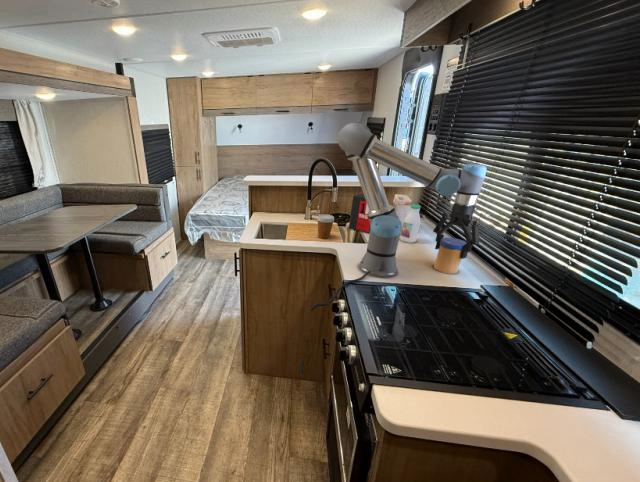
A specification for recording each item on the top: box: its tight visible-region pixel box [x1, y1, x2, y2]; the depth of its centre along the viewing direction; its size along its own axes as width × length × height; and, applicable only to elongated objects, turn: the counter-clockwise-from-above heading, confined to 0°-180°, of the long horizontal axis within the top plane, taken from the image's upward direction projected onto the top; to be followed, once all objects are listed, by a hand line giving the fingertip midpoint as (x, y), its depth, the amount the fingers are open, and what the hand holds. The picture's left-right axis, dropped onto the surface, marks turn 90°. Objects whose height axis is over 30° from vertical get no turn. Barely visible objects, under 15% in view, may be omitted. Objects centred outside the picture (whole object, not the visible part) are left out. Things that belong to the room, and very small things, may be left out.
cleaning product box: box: [348, 193, 389, 235], centre depth 181 cm, size 16×9×20 cm, turn 44°
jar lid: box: [440, 237, 467, 250], centre depth 132 cm, size 10×10×2 cm
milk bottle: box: [399, 203, 422, 244], centre depth 165 cm, size 8×8×20 cm
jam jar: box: [433, 244, 463, 275], centre depth 134 cm, size 9×9×13 cm
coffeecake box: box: [392, 193, 413, 234], centre depth 183 cm, size 15×7×20 cm, turn 163°
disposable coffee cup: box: [316, 213, 335, 240], centre depth 172 cm, size 10×10×12 cm
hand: (449, 253), depth 134 cm, fingers open, 10 cm apart
